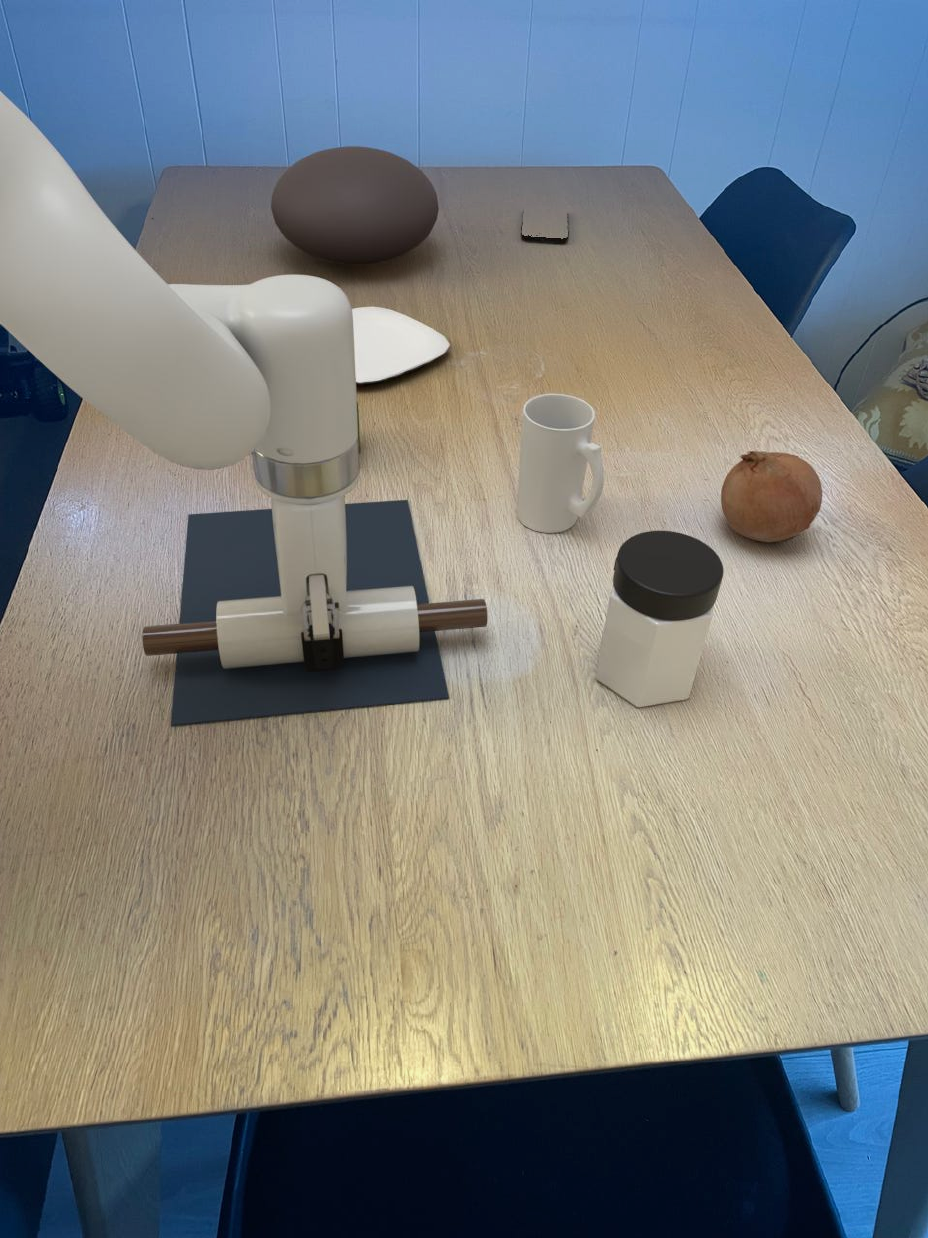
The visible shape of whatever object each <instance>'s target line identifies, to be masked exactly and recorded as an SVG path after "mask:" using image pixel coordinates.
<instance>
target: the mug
mask: <svg viewBox="0 0 928 1238" xmlns="http://www.w3.org/2000/svg"><path fill="white" fill-rule="evenodd" d="M522 408H523V409H522V421H521V422H522V423H521V432H520V433H521V434H520V450H519V462H518V463H519V465H518V478H517V498H516V499H517V500H516V516H517V519H518V520H519V521H520V523H521V524H522V525H524V526H525V527H526V528H528V529H529V530H533V531H535V532H539V533H544V534H556V533H557V534H558V533H561V532H562V533H563V532H565V531H567V530H569V529H571V528H572V527H573V526H574V525H575V524H576V522H577V520H578V518H580V519H585V518H587V517H589V516H590V515H591V513H592V512H593V510H594V508H595V507H596V505H597V504H598V502H599V500H600V498H601V497H602V493H603V490H604V484H605V483H604V482H605V473H604V472H605V471H604V464H603V458H602V446H601V445H599V444H597V443H595V442H592V439H593V432H594V424H595V418H596V411H595V409H594V408H593V406H591V405H590V404H589V403H588V402H587V401H585V400H583V399H582V398H579V397H576V396H574V395H569V394H563V393H545V394H544V393H543V394H540V395H536V396H533V397H532V398H529V399H528V400H527V401H526V402H524V405H523V407H522ZM588 465H589V467H590V471H591V475H592V483H591V488H590V491H589V493H588V495H587V497H586V499H585V500H584V499H582V495H583V491H584V484H585V477H586V471H587V466H588Z"/></svg>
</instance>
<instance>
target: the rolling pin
mask: <svg viewBox="0 0 928 1238" xmlns="http://www.w3.org/2000/svg"><path fill="white" fill-rule="evenodd" d="M326 597H327V599H331V596H330V595H329V594H326ZM306 600H310V596H307V598H306ZM337 611H338V624H339V629H342V637H343V652H344V658H353V657H365V656H376V655H387V654H398V653H409V652H418V651H419V633H420V632H432V631H435V632H441V631H455V630H463V629H477V628H478V629H479V628H487V626H488V618H489V617H488V607H487V603H486V599H484V598H476V599H463V600H452V601H439V602H429V603H426V604H417V601H416V595H415V590H414V587H413V586H401V587H389V588H376V589H363V590H351V591H346V605H345V607H344V608H343V609H342V610H341V611H339V609H337ZM309 620H310V625H312V614H311V612H309ZM328 621H329V623H331V625H332V619H331V611H328ZM301 632H304V630H303V619H302V611H300V613H299V615H291V616H288V615H287V614H286V613H285V612H284V611H283V609H282V599H281V596H275V597H262V598H249V599H237V600H224V601H218V602H217V608H216V621H207V622H195V623H182V624H179V623H171V624H161V625H149V626H148V625H147V626H143V628H142V632H141V633H142V635H141V640H142V648H143V651H144V652H143V653H144V654H145V656H146V657H151V656H152V657H153V656H154V657H155V656H164V655H177V653H189V652H201V651H212V650H219V654H220V659H221V664H222V667H223V669H231V668H242V667H253V666H264V665H275V664H286V663H298V662H304V657H303V648H302V638H301Z"/></svg>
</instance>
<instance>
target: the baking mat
mask: <svg viewBox="0 0 928 1238" xmlns="http://www.w3.org/2000/svg"><path fill="white" fill-rule="evenodd" d="M345 514H346V545H347V577H346V591H351V590H363V589H376V588H389V587H401V586H413V587H414V590H415V595H416V601H417V604H426V603H430V599H429V595H428V590H427V586H426V581H425V576H424V572H423V565H422V563H421V557H420V552H419V547H418V542H417V538H416V534H415V529H414V523H413V519H412V514H411V510H410V504H409V500H408V499H399V500H384V501H369V502H367V501H366V502H352V503H345ZM187 518H188V519H187V529H186V538H185V539H186V540H185V541H186V542H185V552H184V564H183V575H182V586H181V597H180V610H179V623H178V624H182V623H195V622H207V621H216V608H217V602H218V601H224V600H237V599H249V598H262V597H275V596H281V589H280V580H279V571H278V562H277V553H276V545H275V536H274V527H273V516H272V508H265V509H248V510H247V509H246V510H233V511H217V512H203V513H190V514H188V516H187ZM442 661H443V660H442V657H441V652H440V648H439V642H438V638H437V633H436V631H432V632H420V633H419V651H418V652H409V653H398V654H387V655H376V656H365V657H353V658H344V668H342V669H337V670H326V671H315V672H307V671H306V670H305V666H304V662H298V663H286V664H275V665H264V666H253V667H242V668H231V669H223V667H222V664H221V659H220V654H219V650H212V651H201V652H189V653H177V654H176V658H175V669H174V670H175V671H174V682H173V693H172V703H171V704H172V706H171V715H170V717H171V718H170V727H178V726H189V725H199V724H207V723H220V722H228V721H238V720H248V719H249V720H250V719H258V718H259V719H260V718H268V717H280V716H289V715H299V714H310V713H318V712H319V713H321V712H330V711H331V712H332V711H340V710H352V709H359V708H370V707H381V706H391V705H401V704H411V703H421V702H432V701H440V700H441V701H443V700H449V699H450V694H449V691H448V686H447V685H448V684H447V681H446V675H445V672H444V671H445V670H444V667H443V662H442Z"/></svg>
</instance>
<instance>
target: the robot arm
mask: <svg viewBox="0 0 928 1238" xmlns="http://www.w3.org/2000/svg"><path fill="white" fill-rule="evenodd" d="M352 309H353V308H352V305H351V302H350V300H349V298H348V296H347V295H346V293H345V292H344V291H343V289H341V288H340V287H339V286H338V285H336V284H335V283H333V282H331V281H329V280H327V279H325V278H321V277H318V276H313V275H309V274H308V275H307V274H279V275H273V276H268V277H264V278H262V279H259V280H256V281H254V282H252V283H250V284H224V285H223V284H190V283H167V282H166V281H165V280H164V279H163V278H162V277H161V276H160V275H159V274H158V273H157V271H155V269H153V267H152V266H151V265H150V264H149V263H148V262H147V261H146V260H145V259H144V258H143V257H142V256H141V254H139V252H138V251H137V250H136V249H135V248H134V247H133V245H131V243H130V242H129V241H128V240H127V239H126V238H125V237H124V235H123V234H122V233H121V232H120V231H119V229H118V228H117V227H116V226H115V224H114V223H113V222H112V221H111V220H110V219H109V217H107V215H106V214H105V212H104V211H103V210H102V209H101V208H100V206H99V205H98V204H97V202H96V201H95V199H94V198H93V196H91V194H90V192H89V191H88V190H87V188H86V187H85V186H84V184H83V182H82V181H81V180H80V178H79V177H78V176H77V175H76V173H75V171H74V170H73V169H72V167H71V166H70V164H69V163H68V162H67V161H66V159H65V158H64V156H62V155H61V153H60V152H59V151H58V150H57V149H56V147H55V146H54V145H53V144H52V143H51V141H50V140H49V139H48V138H47V137H46V136H45V134H43V133H42V131H41V130H40V129H39V128H38V127H37V126H36V124H34V123H33V122H32V120H31V119H30V118H29V116H27V115H26V114H25V113H24V112H23V111H22V110H21V109H20V108H19V107H18V106H17V105H15V103H14V102H13V101H11V99H9V98H8V97H7V96H6V95H5V93H3V92H2V90H0V326H2V327H3V328H4V329H5V330H6V331H7V332H8V333H9V334H11V335H12V337H14V338H15V339H16V340H17V341H18V342H19V343H20V344H21V345H22V346H23V347H24V348H25V349H26V350H27V351H29V352H30V353H31V354H32V355H33V356H34V357H35V358H36V359H37V360H38V361H39V362H40V363H42V364H43V365H44V366H45V367H46V368H47V369H48V370H49V371H50V372H51V373H53V374H54V375H55V376H56V377H57V378H58V379H59V380H60V381H61V382H62V383H64V384H65V385H66V386H67V387H68V388H70V389H71V390H72V391H73V392H74V393H76V394H77V395H78V396H79V397H80V398H81V399H83V400H84V401H85V402H87V403H88V404H89V405H90V406H92V408H94V409H95V410H97V411H98V412H99V413H101V414H102V415H103V416H105V417H106V418H107V419H109V420H110V421H112V422H113V423H114V424H115V425H117V426H118V427H119V428H121V429H122V430H123V431H125V432H126V433H127V434H129V435H130V436H131V437H132V438H134V439H136V440H137V441H138V442H139V443H141V444H142V445H144V447H146V448H148V449H149V450H151V451H152V452H153V453H154V454H156V455H157V456H159V457H161V458H163V459H165V460H166V461H169V462H171V463H174V464H176V465H178V466H181V467H184V468H189V469H192V470H193V469H194V470H202V471H203V470H204V471H211V470H212V471H213V470H221V469H224V468H227V467H231V466H233V465H236V464H237V463H240V462H241V461H244V460H245V459H246V458H247V457H248V456H250V455H251V458H252V466H253V472H254V473H253V474H254V479H255V480H254V481H255V484H256V486H257V488H258V489H259V490H260V492H262V493H263V494H264V495H266V496H267V497H269V498H270V500H271V509H272V516H273V527H274V536H275V545H276V553H277V562H278V571H279V580H280V589H281V599H282V609H283V611H284V612H285V613H286V614H287V615H288V616H291V615H299V613H300V611H302V619H303V630H304V632H301V638H302V648H303V657H304V666H305V670H306V671H307V672H315V671H326V670H337V669H342V668H344V652H343V637H342V629H339V624H338V611H337V609H339V611H341V610H342V609H343V608H344V607H345V605H346V577H347V545H346V514H345V504H346V495H347V494H348V493H350V492H352V490H353V489H354V488H355V487H356V486H357V484H358V482H359V480H360V477H361V467H360V466H361V465H360V454H359V441H358V421H357V402H358V400H357V399H358V398H357V397H358V396H357V384H356V374H355V350H354V327H353V315H352ZM326 594H329V595H330V596H331V599H327V597H326ZM307 596H310V600H306V598H307ZM328 611H331V619H332V625H331V623H329V621H328ZM309 612H311V614H312V625H310V620H309Z"/></svg>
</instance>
